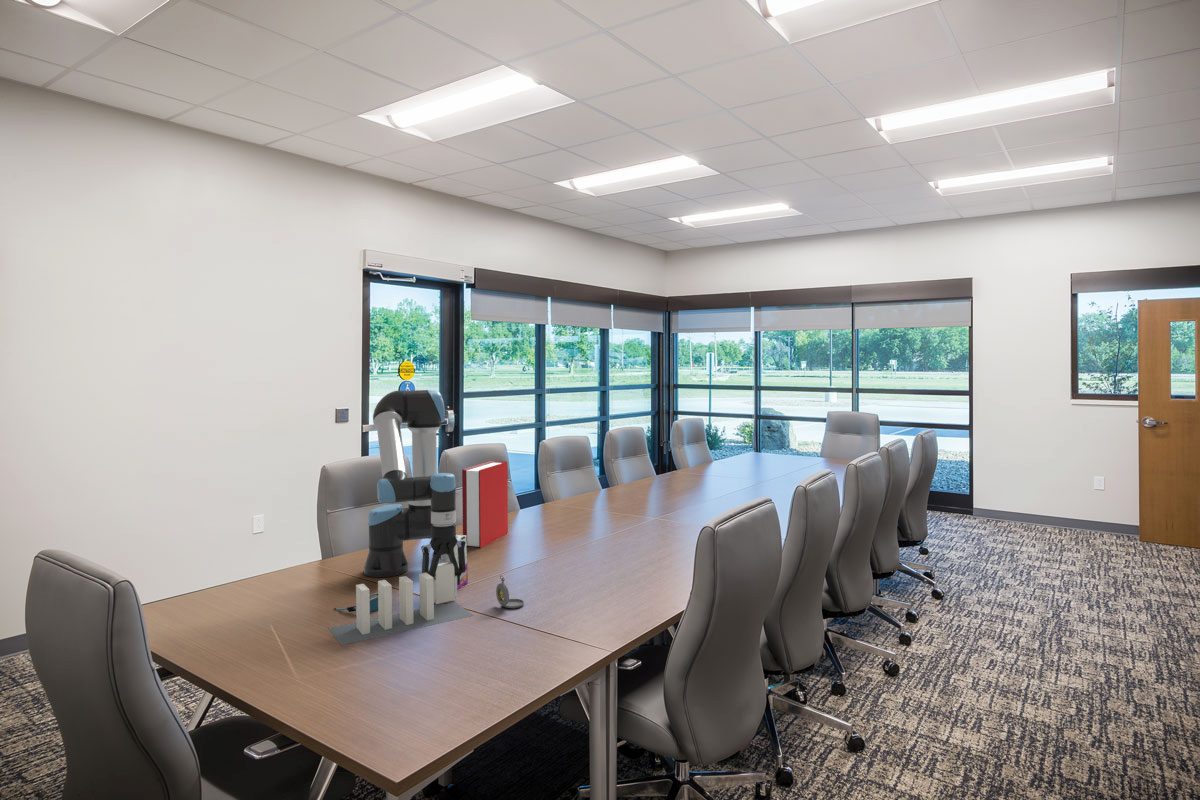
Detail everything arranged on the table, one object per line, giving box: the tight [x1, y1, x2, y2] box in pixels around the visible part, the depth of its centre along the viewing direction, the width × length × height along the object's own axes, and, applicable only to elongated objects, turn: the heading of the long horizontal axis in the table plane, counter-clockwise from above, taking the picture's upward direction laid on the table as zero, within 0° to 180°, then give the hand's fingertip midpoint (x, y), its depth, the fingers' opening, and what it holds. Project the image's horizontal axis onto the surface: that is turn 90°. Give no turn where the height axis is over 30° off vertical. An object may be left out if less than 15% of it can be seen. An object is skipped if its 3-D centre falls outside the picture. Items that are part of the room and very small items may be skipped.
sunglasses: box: [333, 592, 378, 613], centre depth 202 cm, size 14×15×5 cm
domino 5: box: [434, 562, 456, 605], centre depth 205 cm, size 6×2×12 cm, turn 125°
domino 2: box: [377, 579, 393, 630], centre depth 185 cm, size 6×2×12 cm, turn 35°
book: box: [461, 460, 509, 549], centre depth 282 cm, size 27×8×32 cm, turn 163°
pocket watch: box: [495, 575, 525, 609], centre depth 201 cm, size 8×8×10 cm
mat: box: [328, 601, 474, 646], centre depth 188 cm, size 14×37×1 cm, turn 125°
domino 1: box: [355, 583, 371, 635], centre depth 182 cm, size 6×2×12 cm, turn 35°
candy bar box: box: [439, 534, 469, 591], centre depth 219 cm, size 11×5×16 cm, turn 168°
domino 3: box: [398, 575, 414, 625], centre depth 188 cm, size 6×2×12 cm, turn 35°
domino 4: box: [419, 572, 435, 620], centre depth 192 cm, size 6×2×12 cm, turn 35°
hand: (444, 597), depth 205 cm, fingers closed on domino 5, 6 cm apart
